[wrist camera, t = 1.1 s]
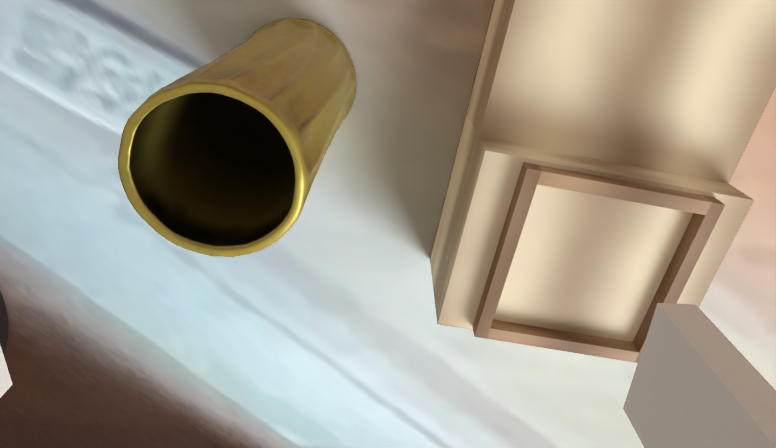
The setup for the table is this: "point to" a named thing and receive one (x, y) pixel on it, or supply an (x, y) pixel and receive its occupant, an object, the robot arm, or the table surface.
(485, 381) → the table surface
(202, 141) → the vase
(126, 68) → the table surface
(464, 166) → the step stand
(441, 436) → the table surface
